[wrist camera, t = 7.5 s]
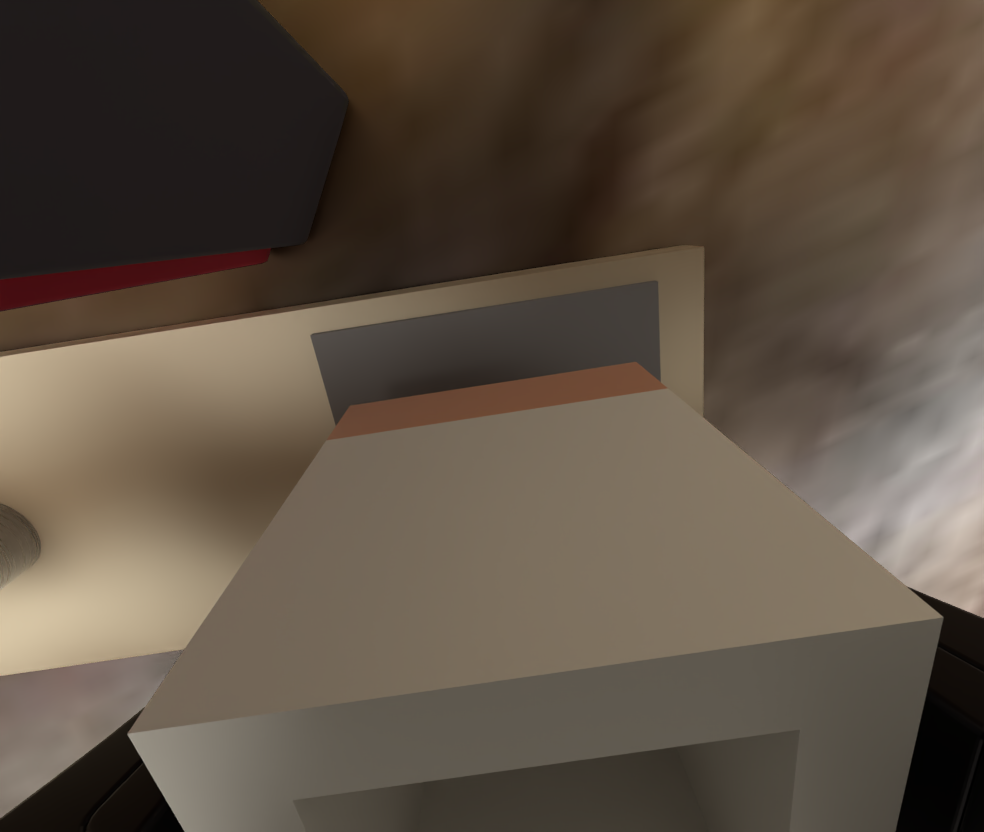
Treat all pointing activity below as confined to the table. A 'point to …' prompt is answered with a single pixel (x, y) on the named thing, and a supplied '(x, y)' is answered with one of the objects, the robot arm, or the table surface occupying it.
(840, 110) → the table surface
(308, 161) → the upright charcoal slab
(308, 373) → the pin board
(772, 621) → the sleeve
